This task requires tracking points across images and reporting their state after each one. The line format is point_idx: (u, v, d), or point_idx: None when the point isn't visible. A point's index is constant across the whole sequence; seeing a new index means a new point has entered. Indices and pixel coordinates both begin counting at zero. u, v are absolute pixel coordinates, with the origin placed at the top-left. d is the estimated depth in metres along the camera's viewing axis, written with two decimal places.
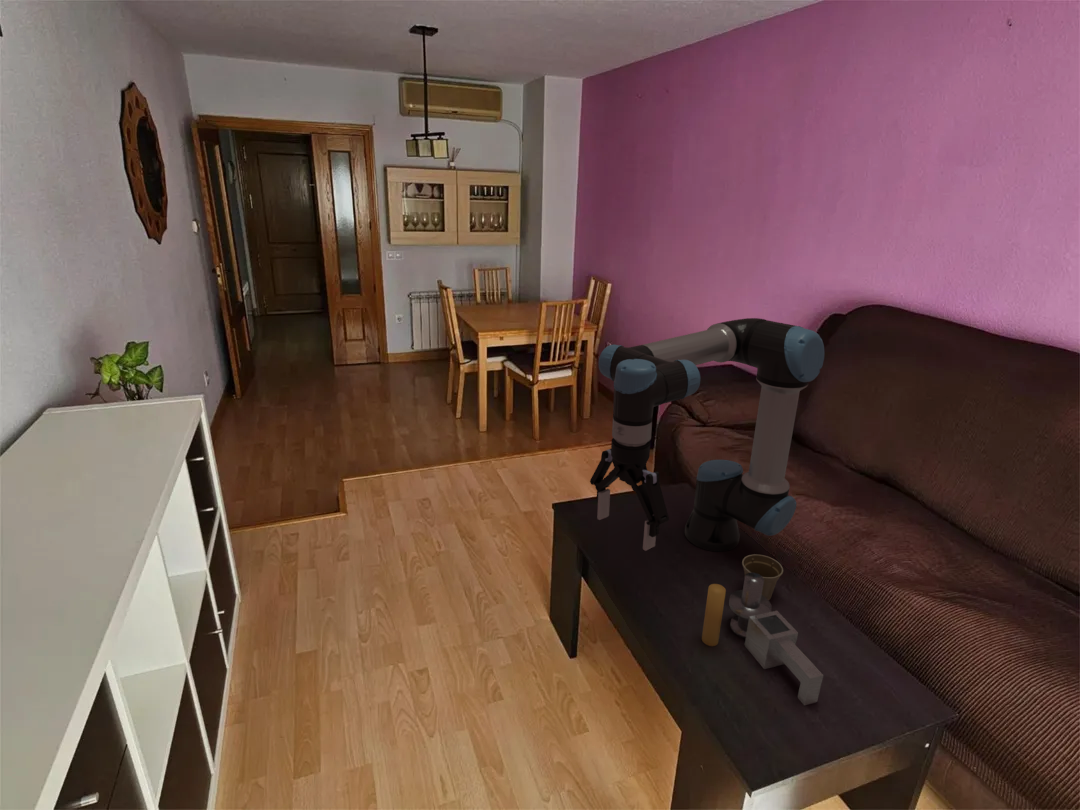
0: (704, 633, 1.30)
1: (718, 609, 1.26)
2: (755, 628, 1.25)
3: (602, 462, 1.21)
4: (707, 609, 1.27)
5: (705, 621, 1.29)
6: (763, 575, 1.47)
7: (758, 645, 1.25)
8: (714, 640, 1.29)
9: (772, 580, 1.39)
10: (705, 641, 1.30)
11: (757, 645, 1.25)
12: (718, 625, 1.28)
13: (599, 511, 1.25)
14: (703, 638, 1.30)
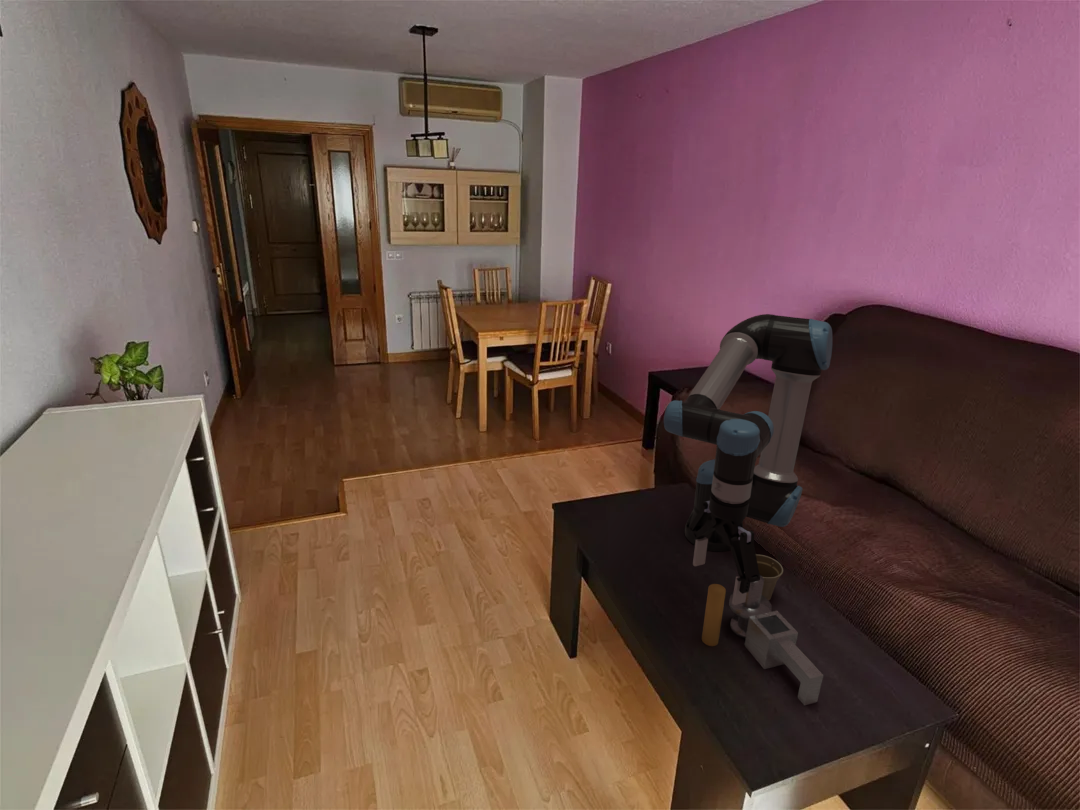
0: (704, 633, 1.30)
1: (718, 609, 1.26)
2: (755, 628, 1.25)
3: (701, 512, 1.25)
4: (707, 609, 1.27)
5: (705, 621, 1.29)
6: (763, 575, 1.47)
7: (758, 645, 1.25)
8: (714, 640, 1.29)
9: (772, 580, 1.39)
10: (705, 641, 1.30)
11: (757, 645, 1.25)
12: (718, 625, 1.28)
13: (695, 558, 1.30)
14: (703, 638, 1.30)
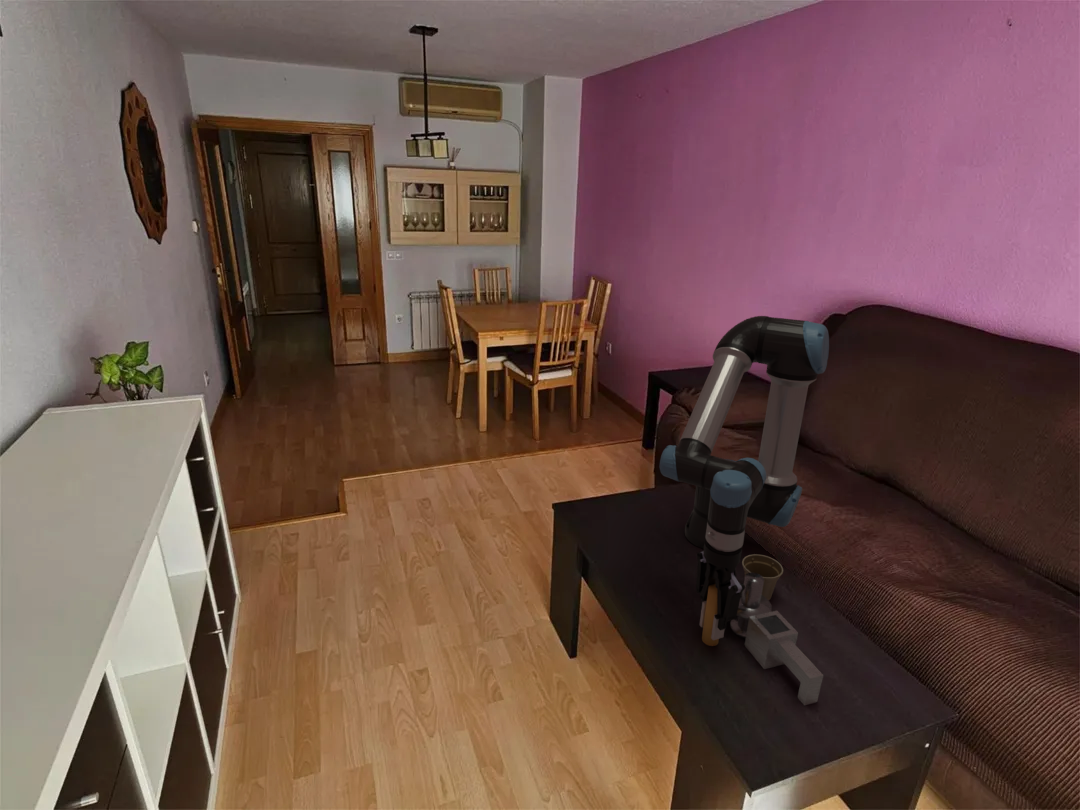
0: (704, 633, 1.30)
1: None
2: (755, 628, 1.25)
3: (699, 564, 1.29)
4: (707, 609, 1.27)
5: (705, 621, 1.29)
6: (763, 575, 1.47)
7: (758, 645, 1.25)
8: (714, 640, 1.29)
9: (772, 580, 1.39)
10: (705, 641, 1.30)
11: (757, 645, 1.25)
12: None
13: (702, 619, 1.31)
14: (703, 638, 1.30)
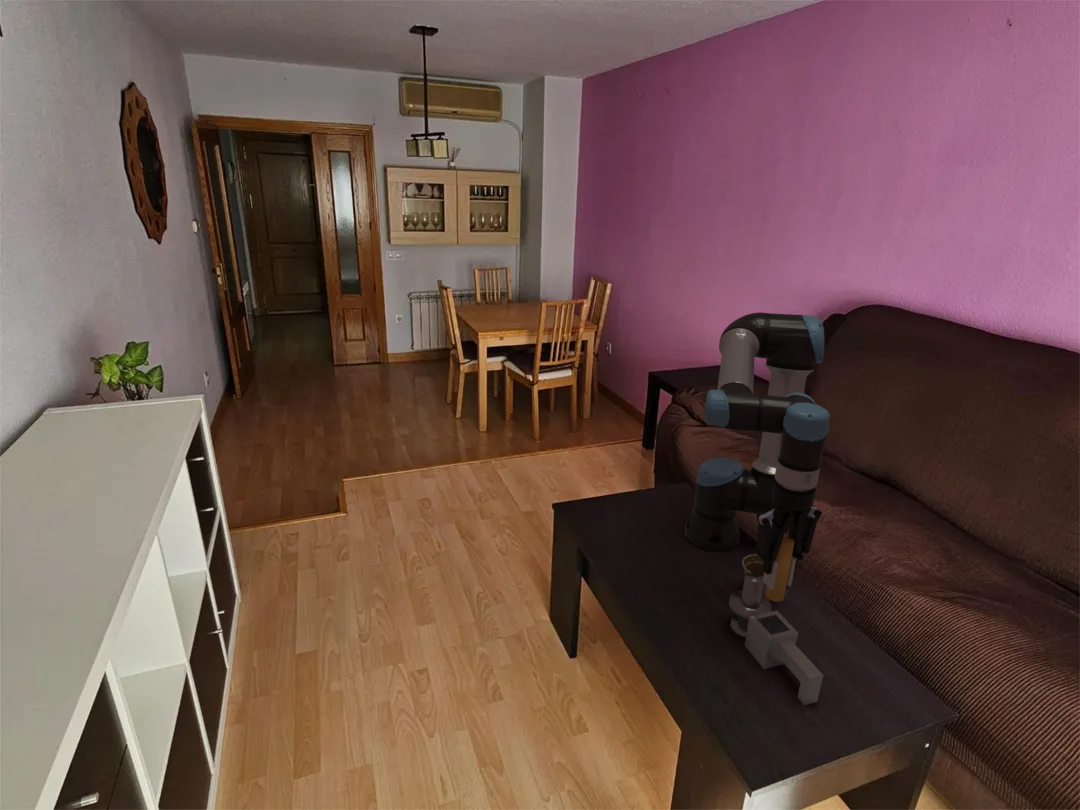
0: (781, 591, 1.19)
1: None
2: (755, 628, 1.25)
3: (768, 529, 1.13)
4: (786, 565, 1.17)
5: (783, 579, 1.18)
6: (763, 575, 1.47)
7: (758, 645, 1.25)
8: None
9: None
10: (782, 598, 1.20)
11: (757, 645, 1.25)
12: None
13: (774, 580, 1.18)
14: (779, 597, 1.20)
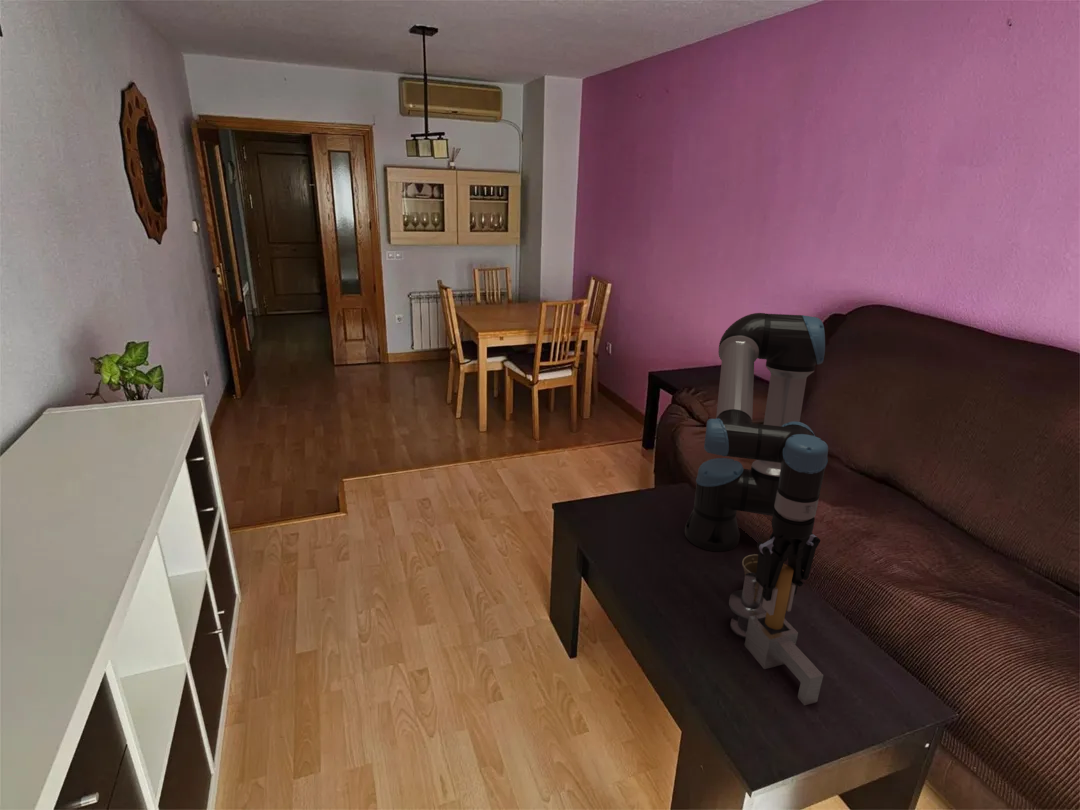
0: (781, 619, 1.22)
1: None
2: (755, 628, 1.25)
3: (768, 558, 1.15)
4: (785, 594, 1.19)
5: (782, 607, 1.21)
6: None
7: (758, 645, 1.25)
8: None
9: None
10: (781, 625, 1.23)
11: (757, 645, 1.25)
12: None
13: (773, 606, 1.20)
14: (779, 625, 1.22)
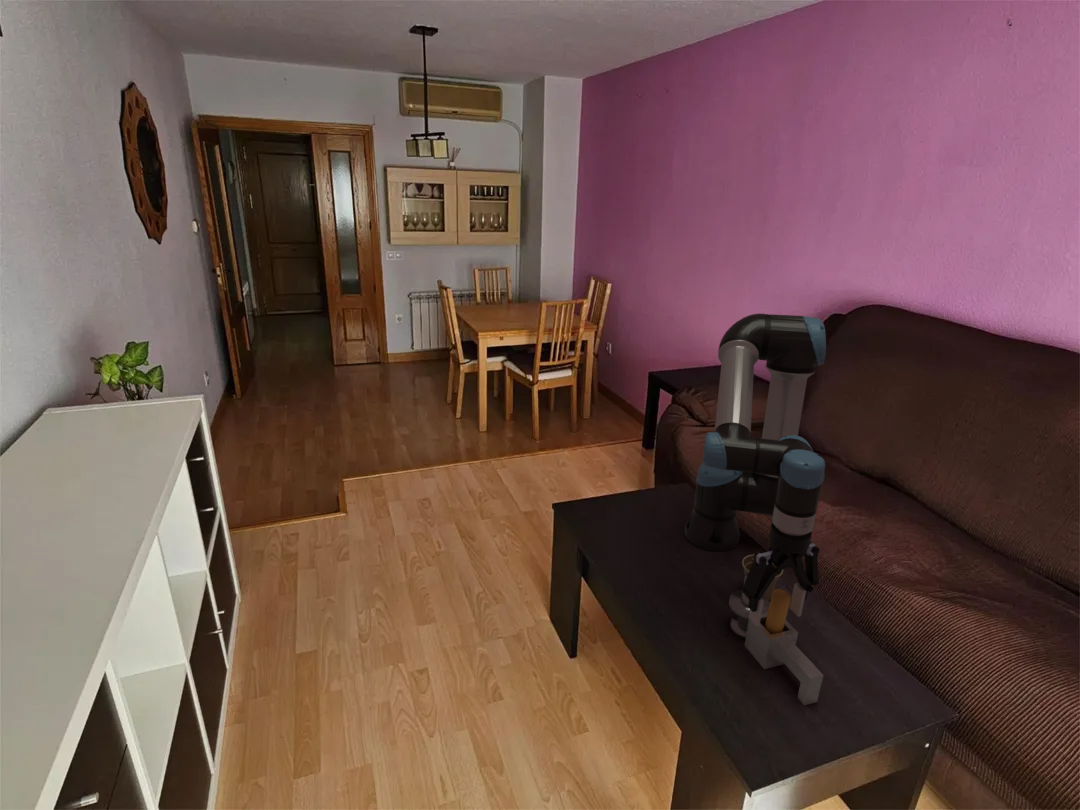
0: None
1: None
2: (755, 628, 1.25)
3: (763, 568, 1.16)
4: (782, 619, 1.22)
5: (778, 632, 1.23)
6: None
7: (758, 645, 1.25)
8: None
9: None
10: None
11: (757, 645, 1.25)
12: None
13: (759, 617, 1.21)
14: None
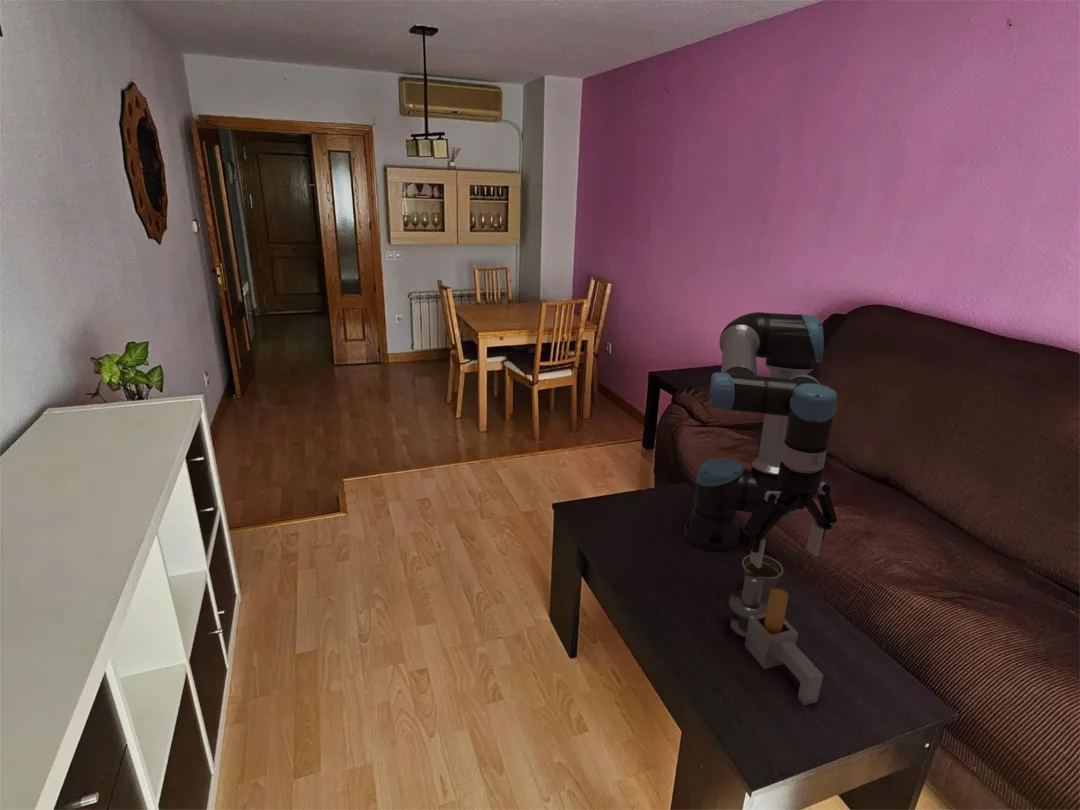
0: None
1: None
2: (755, 628, 1.25)
3: (770, 506, 1.11)
4: (780, 618, 1.22)
5: (777, 631, 1.23)
6: (763, 575, 1.47)
7: (758, 645, 1.25)
8: None
9: (772, 580, 1.39)
10: None
11: (757, 645, 1.25)
12: None
13: (761, 559, 1.15)
14: None
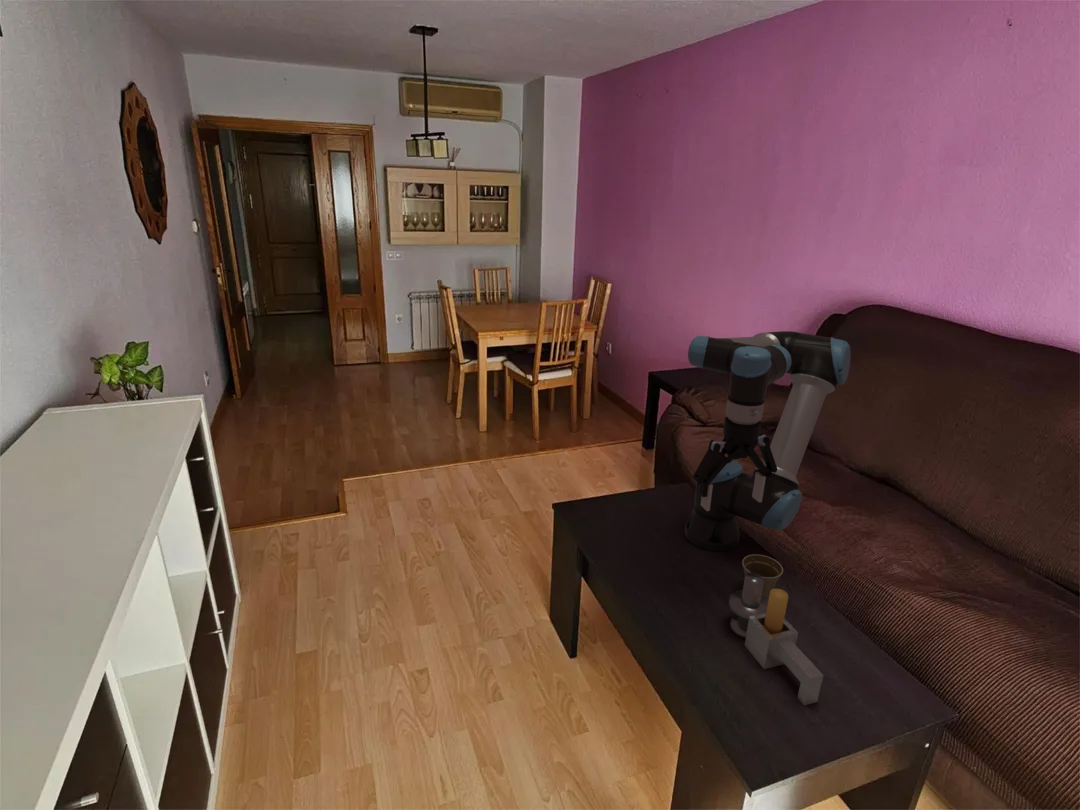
0: None
1: None
2: (755, 628, 1.25)
3: (716, 454, 1.27)
4: (780, 619, 1.22)
5: (777, 632, 1.23)
6: (763, 575, 1.47)
7: (758, 645, 1.25)
8: None
9: (772, 580, 1.39)
10: None
11: (757, 645, 1.25)
12: None
13: (709, 502, 1.31)
14: None
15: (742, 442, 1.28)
